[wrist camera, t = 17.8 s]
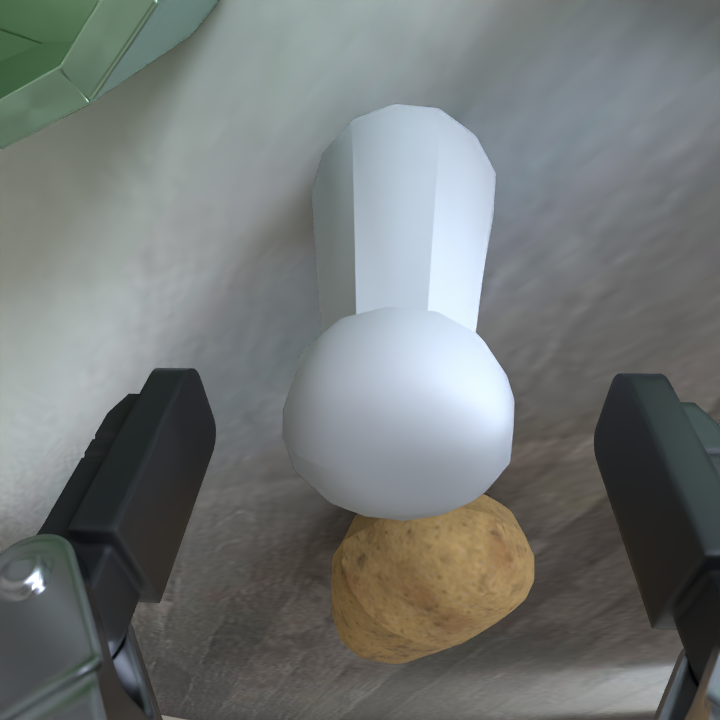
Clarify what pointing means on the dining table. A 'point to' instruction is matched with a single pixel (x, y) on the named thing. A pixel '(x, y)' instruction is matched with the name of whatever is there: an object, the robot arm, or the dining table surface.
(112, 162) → the dining table surface
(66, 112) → the pot
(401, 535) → the potato
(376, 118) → the salt shaker
